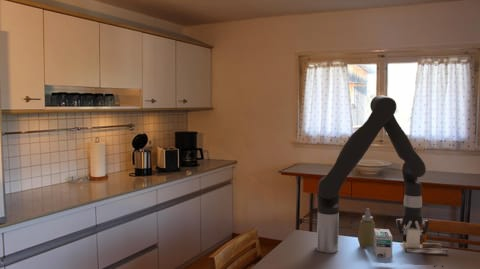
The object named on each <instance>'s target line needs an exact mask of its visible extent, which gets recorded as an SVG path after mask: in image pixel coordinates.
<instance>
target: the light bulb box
mask: <svg viewBox="0 0 480 269" xmlns="http://www.w3.org/2000/svg"><path fill="white" fill-rule="evenodd" d="M373 252H374V254H375V257H376V258H387V259H391V258H392V259H393V234H392V233H391V231H390V229H387V228H386V229H385V228H376V227H375V228H374V246H373Z"/></svg>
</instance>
